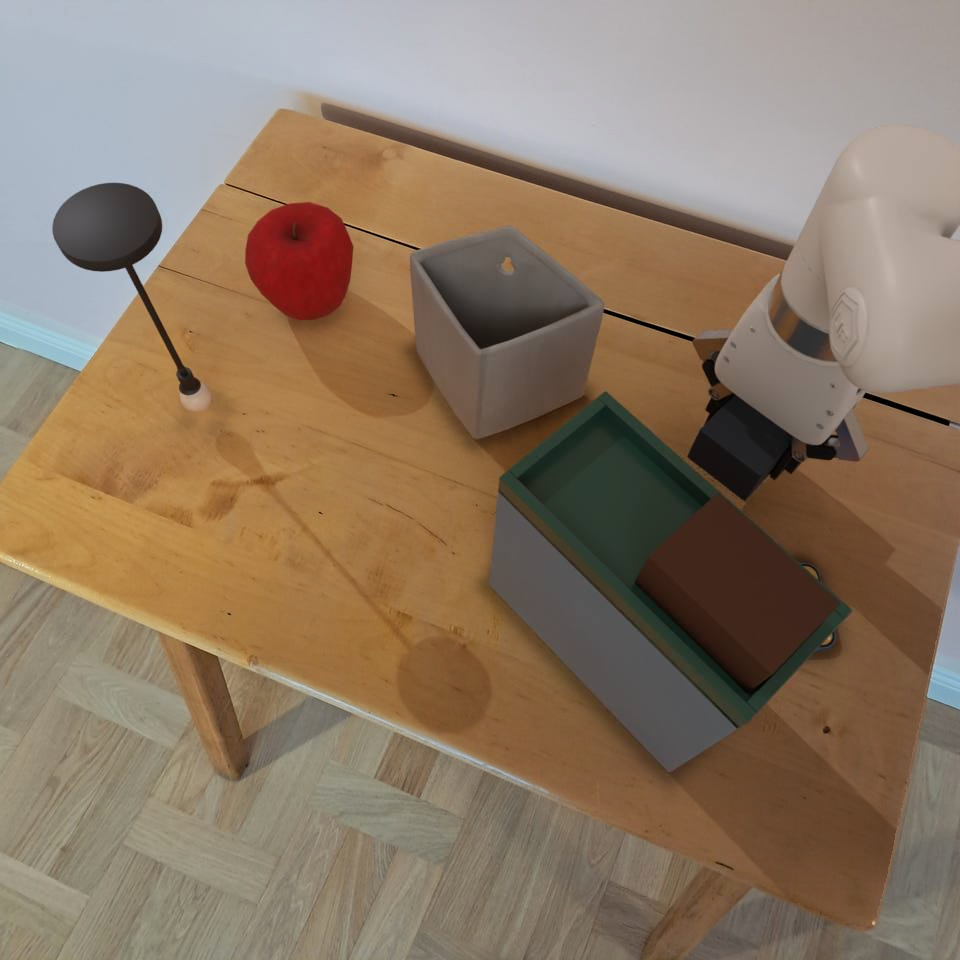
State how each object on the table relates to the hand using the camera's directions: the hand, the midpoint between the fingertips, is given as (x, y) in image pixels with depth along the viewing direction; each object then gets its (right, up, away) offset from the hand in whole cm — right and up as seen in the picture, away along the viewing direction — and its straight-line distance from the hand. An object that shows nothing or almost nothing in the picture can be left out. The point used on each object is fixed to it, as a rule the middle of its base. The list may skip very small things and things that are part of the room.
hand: (749, 441), depth 73 cm
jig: (-11, -8, -19) cm, 23 cm away
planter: (-22, +4, +7) cm, 23 cm away
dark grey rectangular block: (0, 0, +1) cm, 1 cm away
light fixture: (-47, +3, +6) cm, 48 cm away
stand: (-12, -16, -2) cm, 20 cm away
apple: (-39, +14, +12) cm, 43 cm away
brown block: (-8, -11, -21) cm, 25 cm away
